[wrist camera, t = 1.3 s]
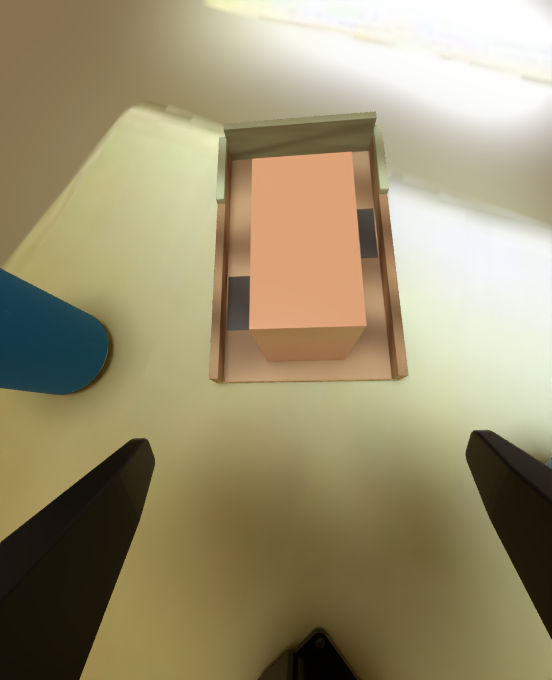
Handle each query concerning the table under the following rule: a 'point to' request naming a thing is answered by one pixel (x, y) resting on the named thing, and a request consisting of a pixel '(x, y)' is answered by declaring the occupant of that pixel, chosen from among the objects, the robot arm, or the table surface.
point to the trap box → (235, 248)
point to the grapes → (549, 463)
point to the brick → (305, 258)
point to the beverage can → (46, 341)
